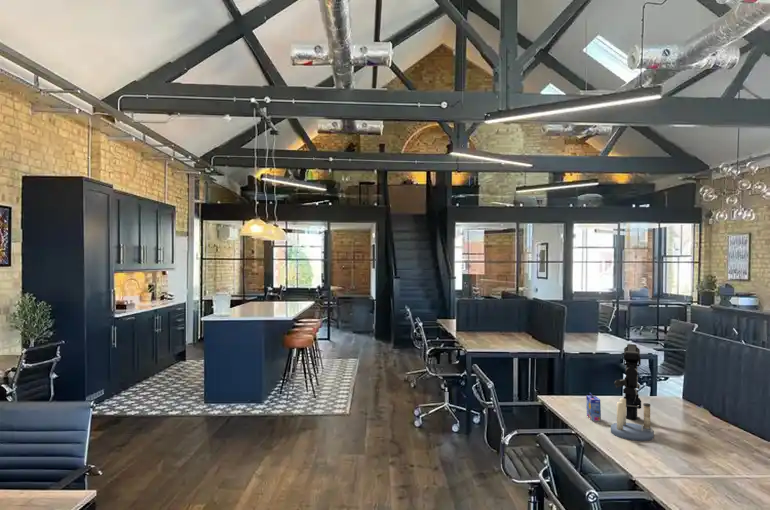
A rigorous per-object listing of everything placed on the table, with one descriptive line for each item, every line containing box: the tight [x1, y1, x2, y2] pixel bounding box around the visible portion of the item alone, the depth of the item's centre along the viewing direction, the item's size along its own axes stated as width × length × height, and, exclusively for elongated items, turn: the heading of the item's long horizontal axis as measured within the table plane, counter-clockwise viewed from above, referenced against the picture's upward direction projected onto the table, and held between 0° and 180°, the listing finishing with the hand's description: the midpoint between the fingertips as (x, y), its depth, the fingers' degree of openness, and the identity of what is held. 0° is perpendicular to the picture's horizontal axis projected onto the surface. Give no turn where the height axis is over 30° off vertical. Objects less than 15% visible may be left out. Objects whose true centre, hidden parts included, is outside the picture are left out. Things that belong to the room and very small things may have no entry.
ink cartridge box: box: [585, 392, 602, 422], centre depth 292 cm, size 10×6×14 cm, turn 174°
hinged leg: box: [642, 402, 651, 430], centre depth 261 cm, size 3×3×13 cm
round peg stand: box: [610, 397, 655, 442], centre depth 265 cm, size 20×20×16 cm
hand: (631, 404), depth 279 cm, fingers closed
